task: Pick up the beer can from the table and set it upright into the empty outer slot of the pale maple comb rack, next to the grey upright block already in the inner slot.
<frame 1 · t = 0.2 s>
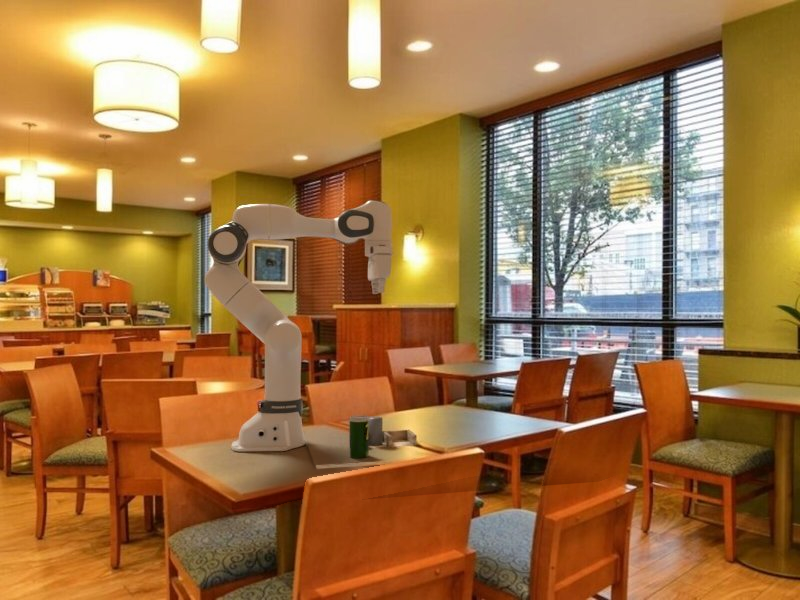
hand: (378, 293, 194), 47 cm above the table, tool pointing down, fingers open, 8 cm apart
grey upright block: (375, 444, 181), point 1 cm above the table, touching comb rack
beer can: (359, 460, 166), on the table
comb rack: (387, 446, 182), on the table
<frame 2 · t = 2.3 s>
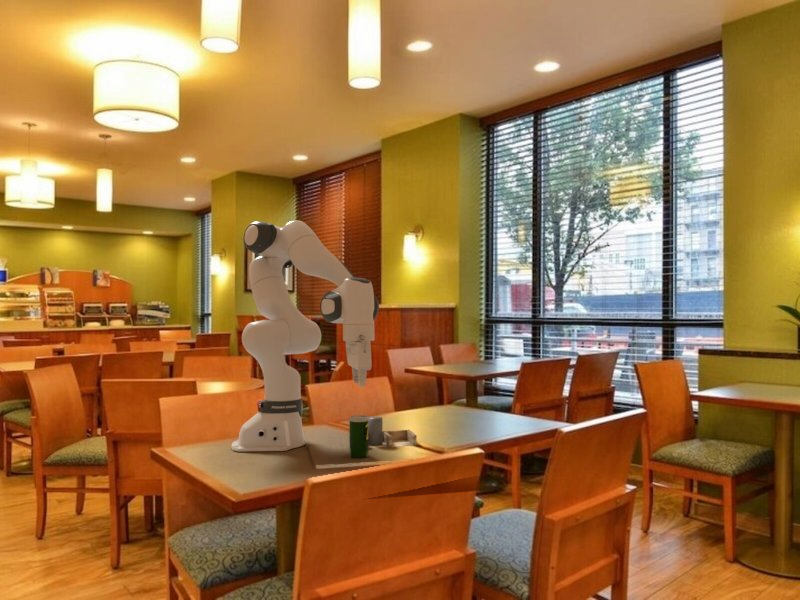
hand: (359, 384, 166), 21 cm above the table, tool pointing down, fingers open, 8 cm apart
nothing on the table moved.
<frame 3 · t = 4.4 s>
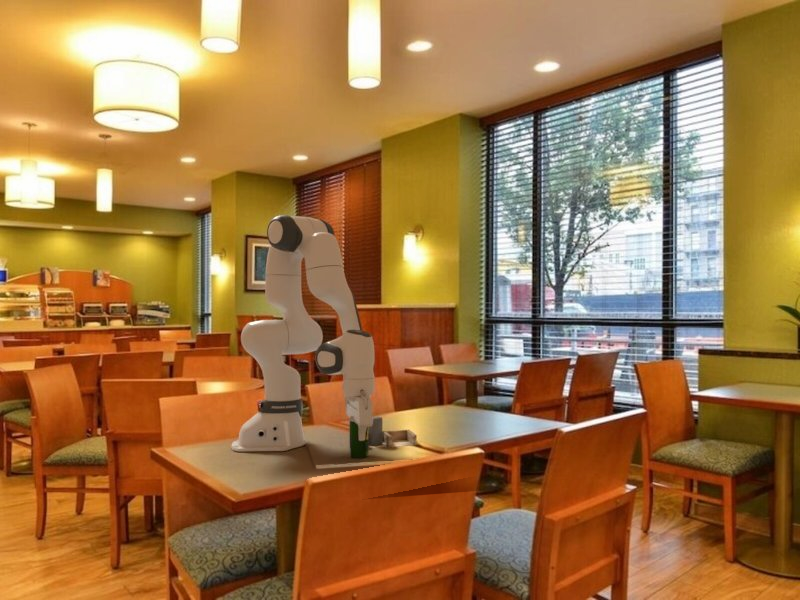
hand: (359, 437, 166), 6 cm above the table, tool pointing down, fingers closed on beer can, 5 cm apart
beer can: (359, 460, 166), on the table, touching gripper
everything else where it was.
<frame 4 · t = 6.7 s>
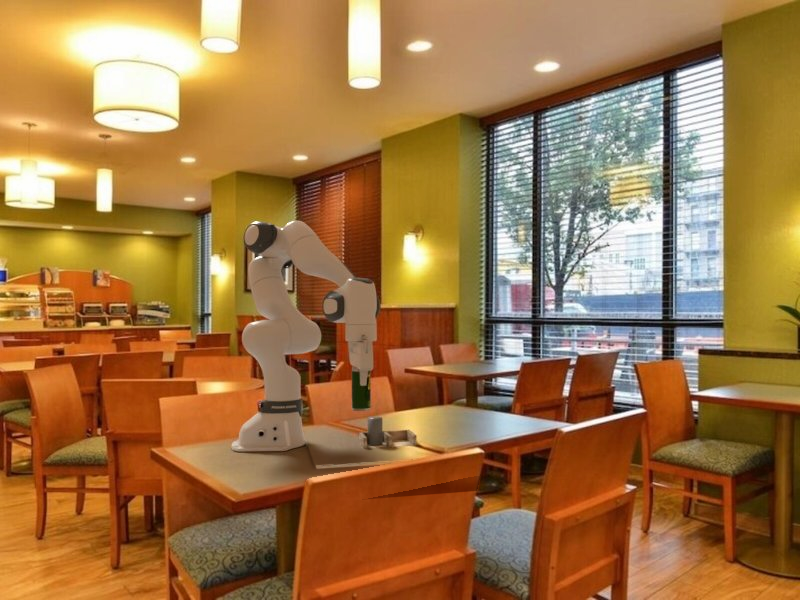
hand: (361, 384, 168), 21 cm above the table, tool pointing down, fingers closed on beer can, 5 cm apart
beer can: (361, 410, 167), point 14 cm above the table, touching gripper
everything else where it was.
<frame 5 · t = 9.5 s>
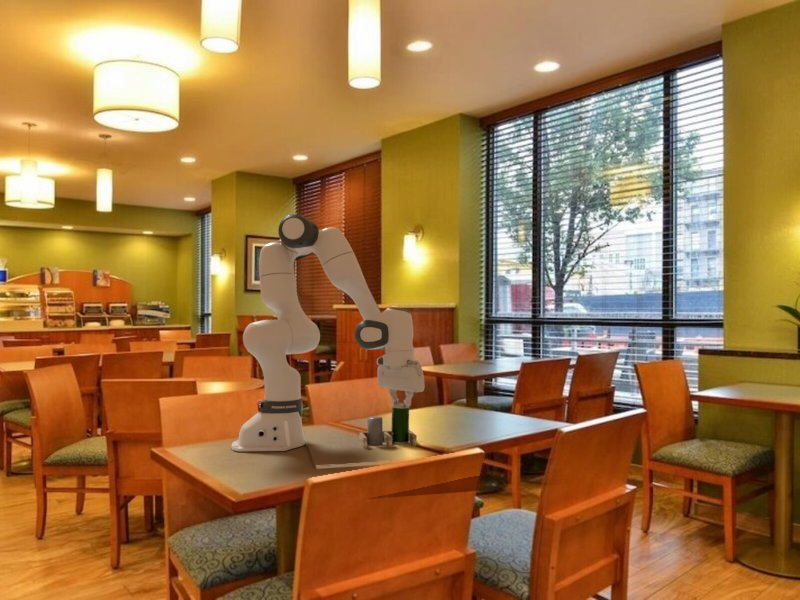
hand: (401, 404, 183), 13 cm above the table, tool pointing down, fingers closed on beer can, 5 cm apart
beer can: (399, 443, 183), point 1 cm above the table, touching comb rack, gripper
everything else where it was.
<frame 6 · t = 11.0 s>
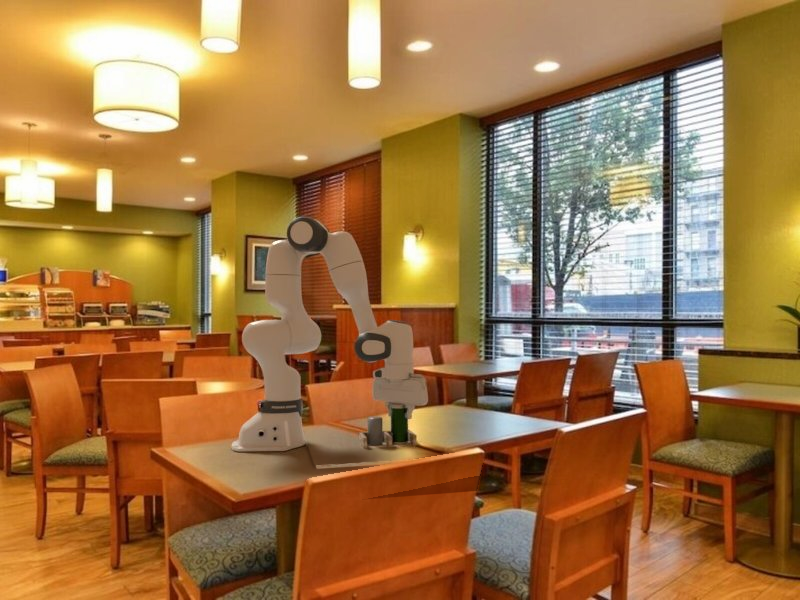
hand: (399, 417, 183), 9 cm above the table, tool pointing down, fingers closed on beer can, 5 cm apart
beer can: (399, 443, 183), point 1 cm above the table, touching comb rack, gripper
everything else where it was.
when the fingers open (9 cm above the table, at t = 11.1 s): beer can stays where it is, resting on comb rack.
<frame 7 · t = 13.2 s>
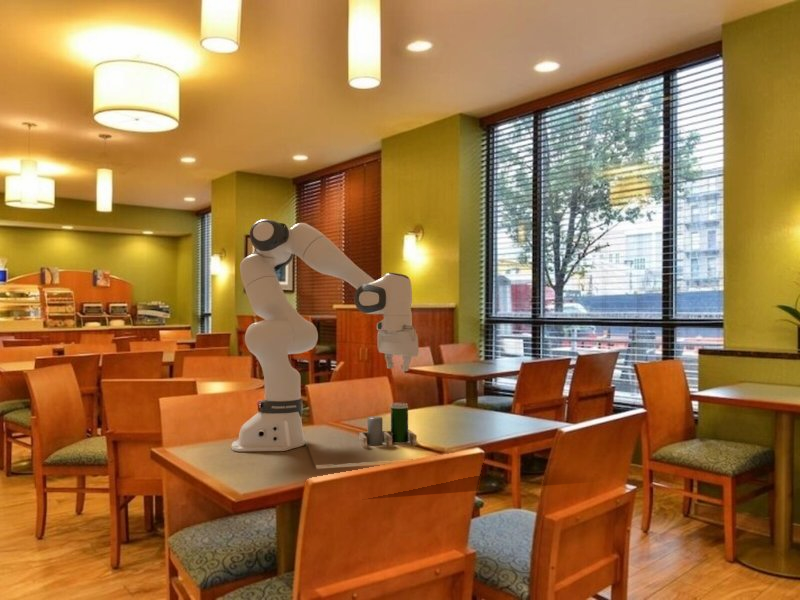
hand: (397, 369, 185), 23 cm above the table, tool pointing down, fingers open, 8 cm apart
beer can: (399, 443, 183), point 1 cm above the table, touching comb rack
everything else where it was.
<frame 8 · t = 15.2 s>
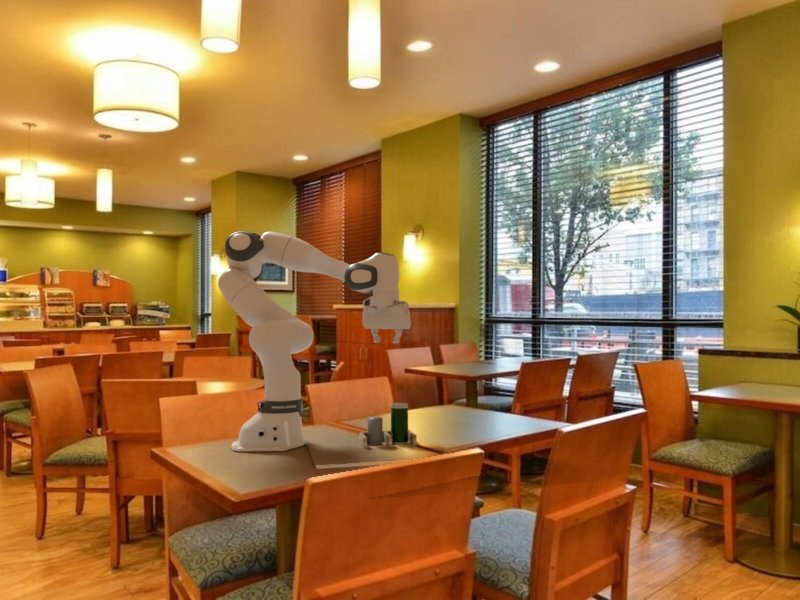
hand: (386, 342, 198), 31 cm above the table, tool pointing down, fingers open, 8 cm apart
nothing on the table moved.
at the end: beer can 0.4 cm from the target spot on the comb rack, point 0.8 cm above the comb rack's base; beer can tilted 0°; the gripper is holding nothing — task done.
